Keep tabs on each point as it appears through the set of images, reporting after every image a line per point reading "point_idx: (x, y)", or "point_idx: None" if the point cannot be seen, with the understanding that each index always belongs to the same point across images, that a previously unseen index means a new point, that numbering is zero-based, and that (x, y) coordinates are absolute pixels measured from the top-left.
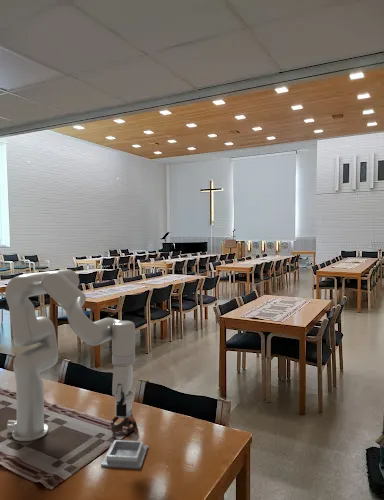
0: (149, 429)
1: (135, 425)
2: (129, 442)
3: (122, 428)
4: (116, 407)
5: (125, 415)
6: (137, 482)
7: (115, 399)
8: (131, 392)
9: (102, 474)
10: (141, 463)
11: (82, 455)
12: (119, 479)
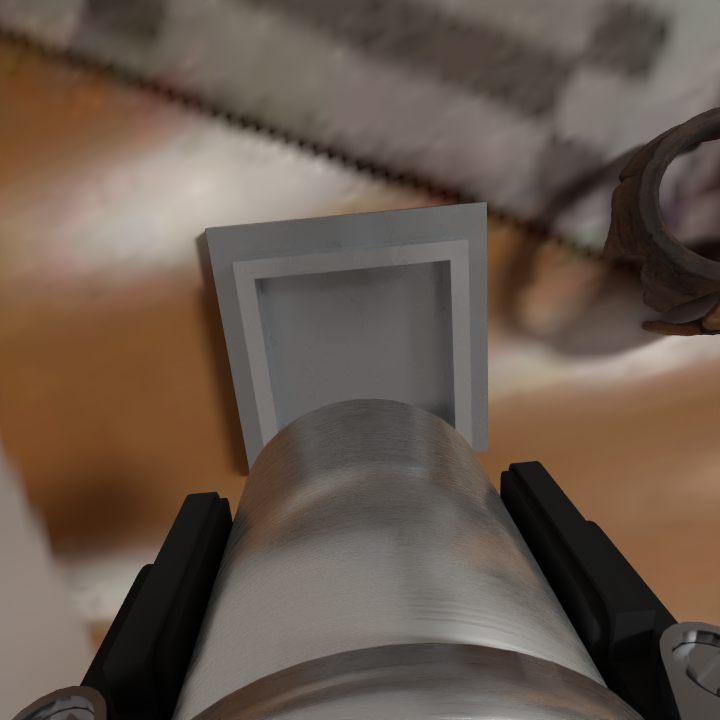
0: (708, 393)
1: (703, 327)
2: (451, 359)
3: (628, 254)
4: (137, 597)
5: None
6: (131, 486)
7: (268, 628)
8: None
9: (134, 270)
10: None
11: (311, 15)
12: (122, 388)
